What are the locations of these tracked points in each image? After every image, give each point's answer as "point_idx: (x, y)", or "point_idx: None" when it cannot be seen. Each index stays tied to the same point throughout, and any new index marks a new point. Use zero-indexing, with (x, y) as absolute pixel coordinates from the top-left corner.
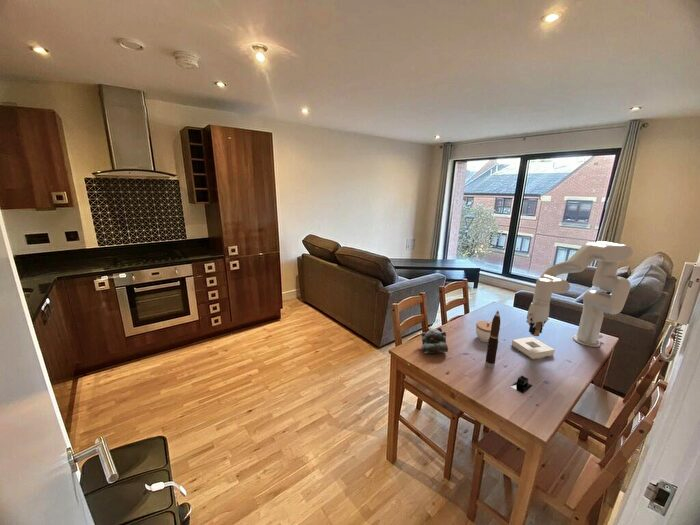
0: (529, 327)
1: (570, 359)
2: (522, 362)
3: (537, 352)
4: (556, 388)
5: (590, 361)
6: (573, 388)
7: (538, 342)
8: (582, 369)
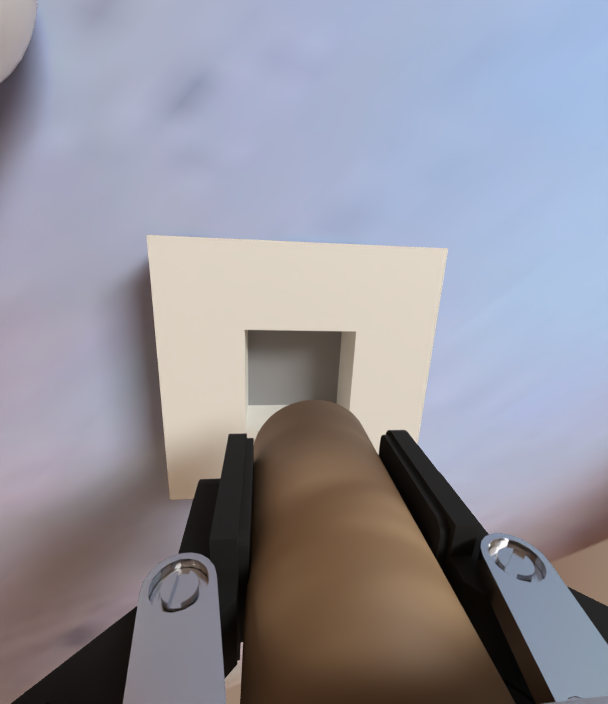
0: (220, 485)
1: None
2: (78, 465)
3: None
4: None
5: (545, 537)
6: None
7: (392, 365)
8: None
